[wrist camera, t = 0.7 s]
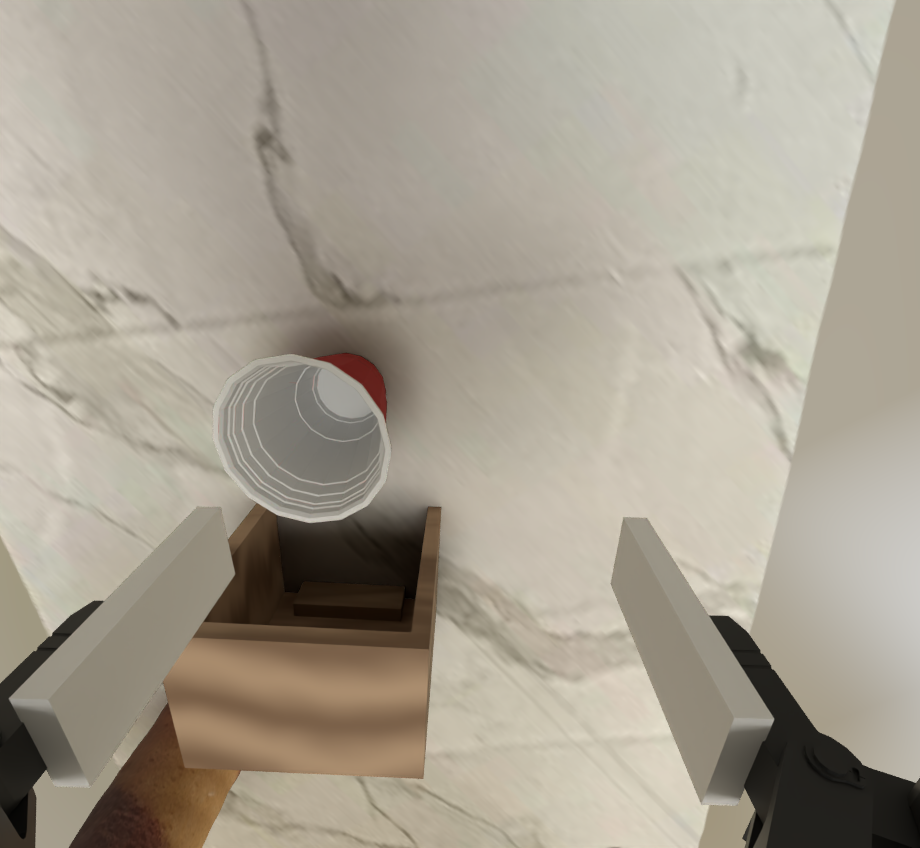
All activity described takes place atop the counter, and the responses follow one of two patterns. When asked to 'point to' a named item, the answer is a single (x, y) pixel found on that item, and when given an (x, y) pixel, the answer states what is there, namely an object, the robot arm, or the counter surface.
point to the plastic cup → (305, 434)
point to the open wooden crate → (307, 669)
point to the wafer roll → (157, 798)
